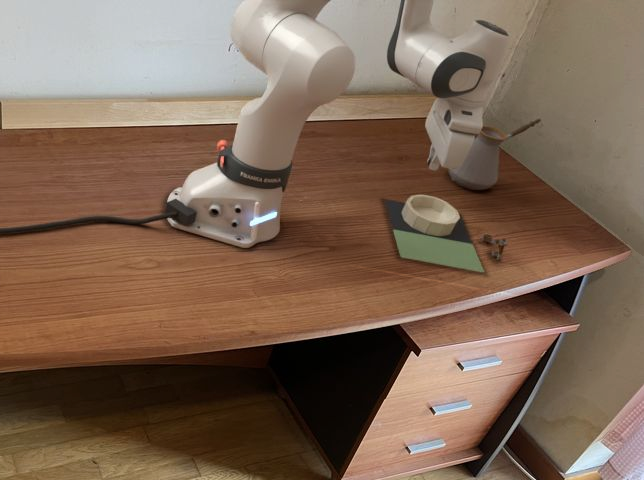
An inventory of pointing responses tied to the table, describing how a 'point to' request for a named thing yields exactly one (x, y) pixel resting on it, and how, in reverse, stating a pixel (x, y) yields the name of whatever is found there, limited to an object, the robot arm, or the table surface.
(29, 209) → the table surface
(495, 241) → the wooden post with brackets
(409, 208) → the bowl
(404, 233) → the desk mat
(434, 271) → the table surface
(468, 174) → the coffee pot
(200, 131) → the table surface
